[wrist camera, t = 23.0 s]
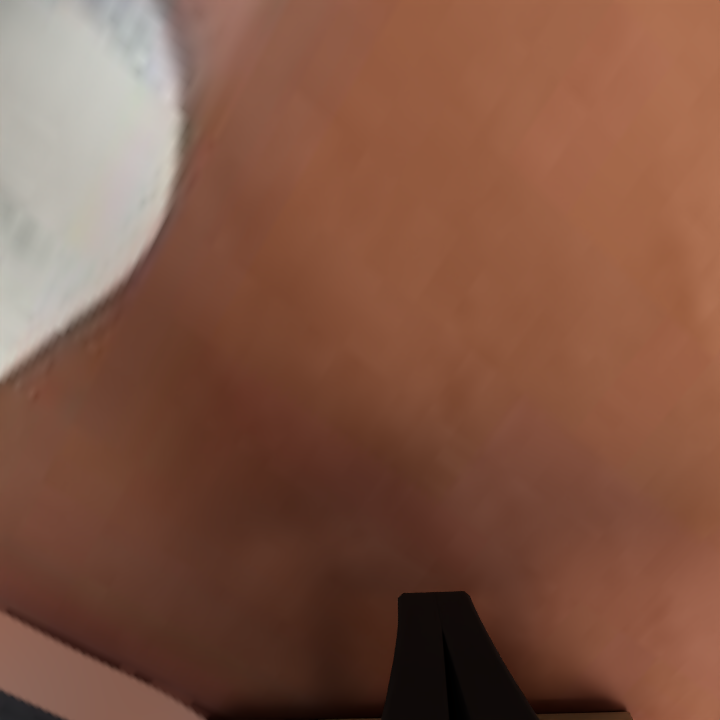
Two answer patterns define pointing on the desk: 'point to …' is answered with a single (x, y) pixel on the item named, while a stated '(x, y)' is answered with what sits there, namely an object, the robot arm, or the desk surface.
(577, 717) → the cabinet
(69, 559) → the desk surface
